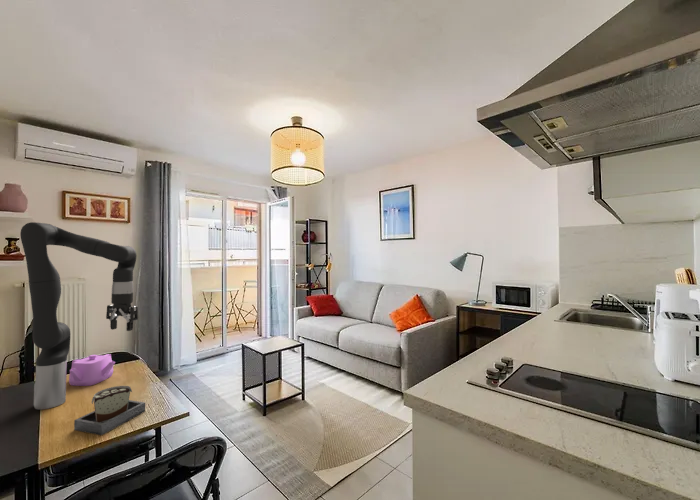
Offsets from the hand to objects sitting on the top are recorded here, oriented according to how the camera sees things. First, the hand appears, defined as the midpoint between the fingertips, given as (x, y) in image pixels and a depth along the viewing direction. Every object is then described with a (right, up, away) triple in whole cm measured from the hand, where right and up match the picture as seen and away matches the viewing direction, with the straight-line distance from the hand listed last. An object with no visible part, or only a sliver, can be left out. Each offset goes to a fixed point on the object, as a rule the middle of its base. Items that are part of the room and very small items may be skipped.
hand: (121, 329), depth 132 cm
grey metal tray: (+8, -30, -16) cm, 35 cm away
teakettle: (-29, -31, +20) cm, 47 cm away
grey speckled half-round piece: (+6, -29, -15) cm, 33 cm away
